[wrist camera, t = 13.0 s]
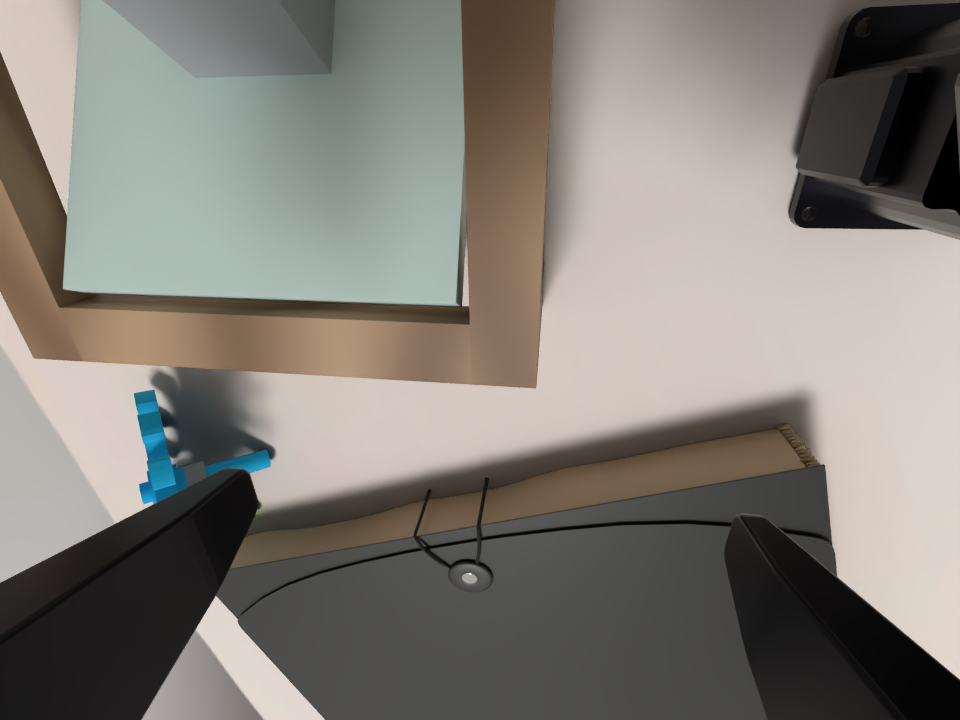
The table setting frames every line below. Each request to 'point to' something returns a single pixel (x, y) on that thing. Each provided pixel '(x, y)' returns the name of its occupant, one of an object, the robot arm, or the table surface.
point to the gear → (161, 471)
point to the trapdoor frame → (319, 325)
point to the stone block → (238, 34)
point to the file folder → (535, 591)
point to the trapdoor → (273, 167)
